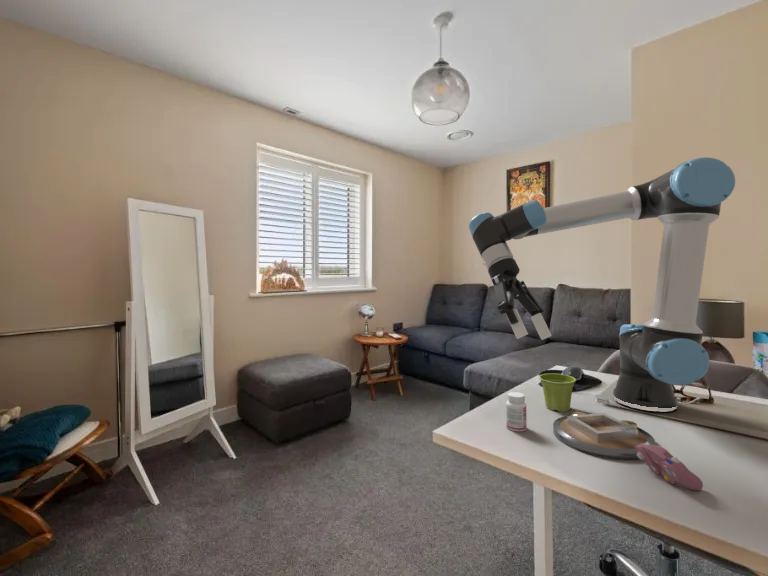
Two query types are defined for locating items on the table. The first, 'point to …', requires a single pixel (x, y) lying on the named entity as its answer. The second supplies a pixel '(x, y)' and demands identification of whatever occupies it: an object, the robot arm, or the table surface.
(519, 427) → the pill bottle
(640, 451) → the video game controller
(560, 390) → the plant pot
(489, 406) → the table surface
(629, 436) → the carrier disc
